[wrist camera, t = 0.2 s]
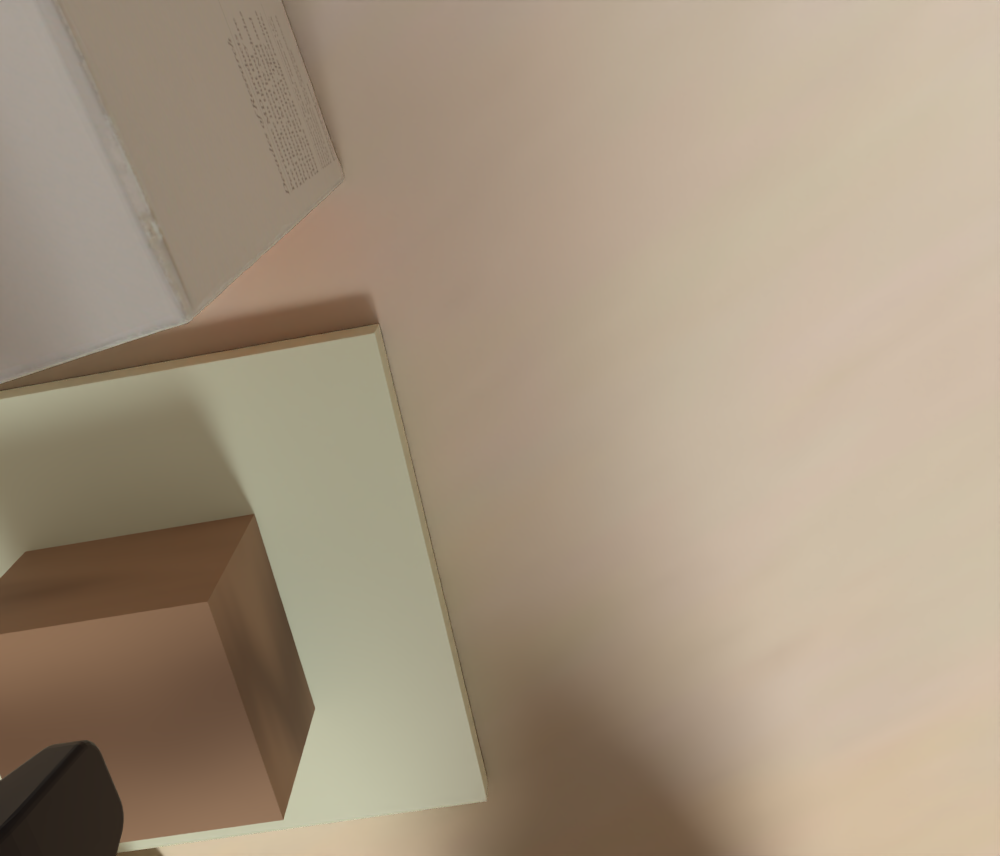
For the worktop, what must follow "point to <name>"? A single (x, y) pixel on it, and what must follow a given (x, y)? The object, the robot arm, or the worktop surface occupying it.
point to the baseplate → (275, 542)
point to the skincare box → (144, 164)
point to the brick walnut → (159, 672)
